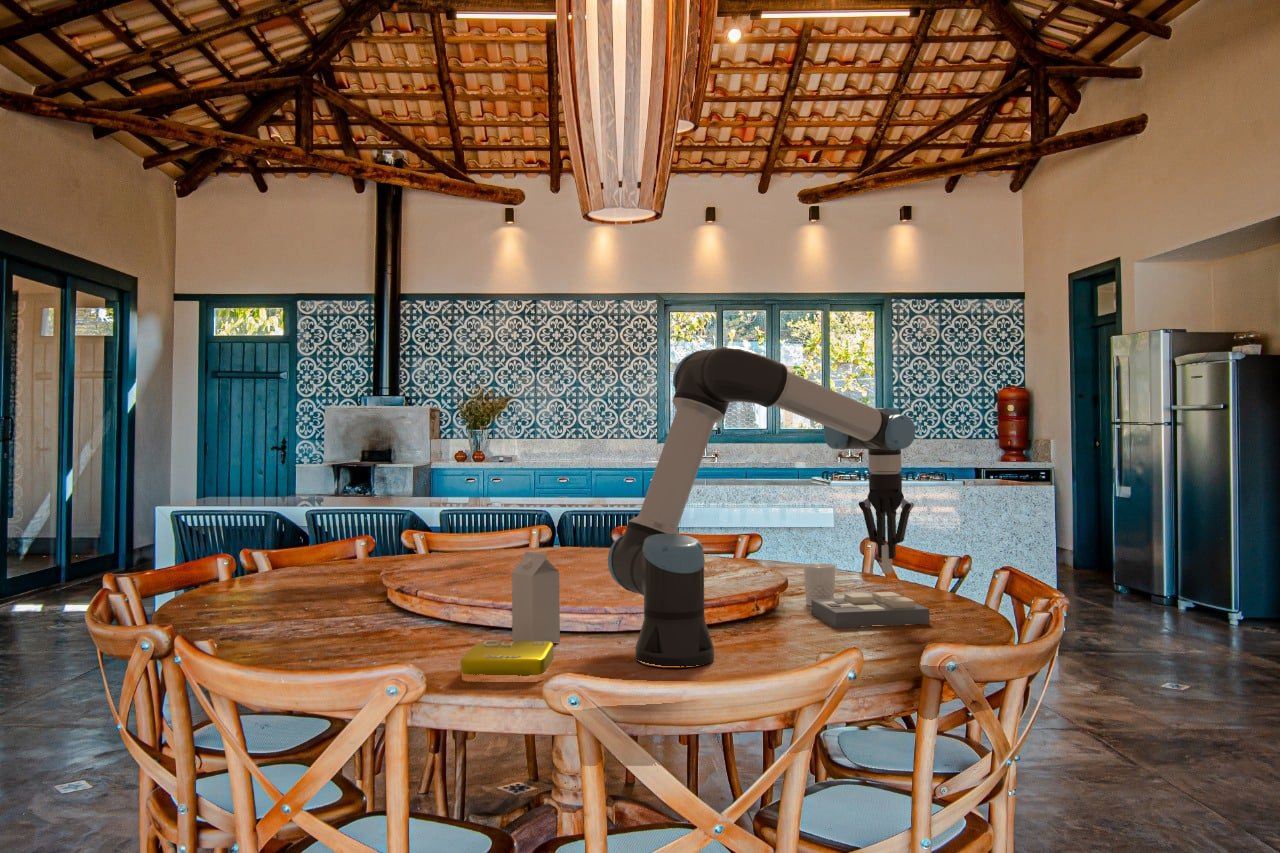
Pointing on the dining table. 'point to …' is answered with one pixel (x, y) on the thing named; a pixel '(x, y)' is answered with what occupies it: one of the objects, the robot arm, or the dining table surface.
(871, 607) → the button
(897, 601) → the button
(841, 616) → the board
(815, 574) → the white cup
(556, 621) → the milk carton
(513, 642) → the element tile
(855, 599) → the button
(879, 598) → the button
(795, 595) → the dining table surface
